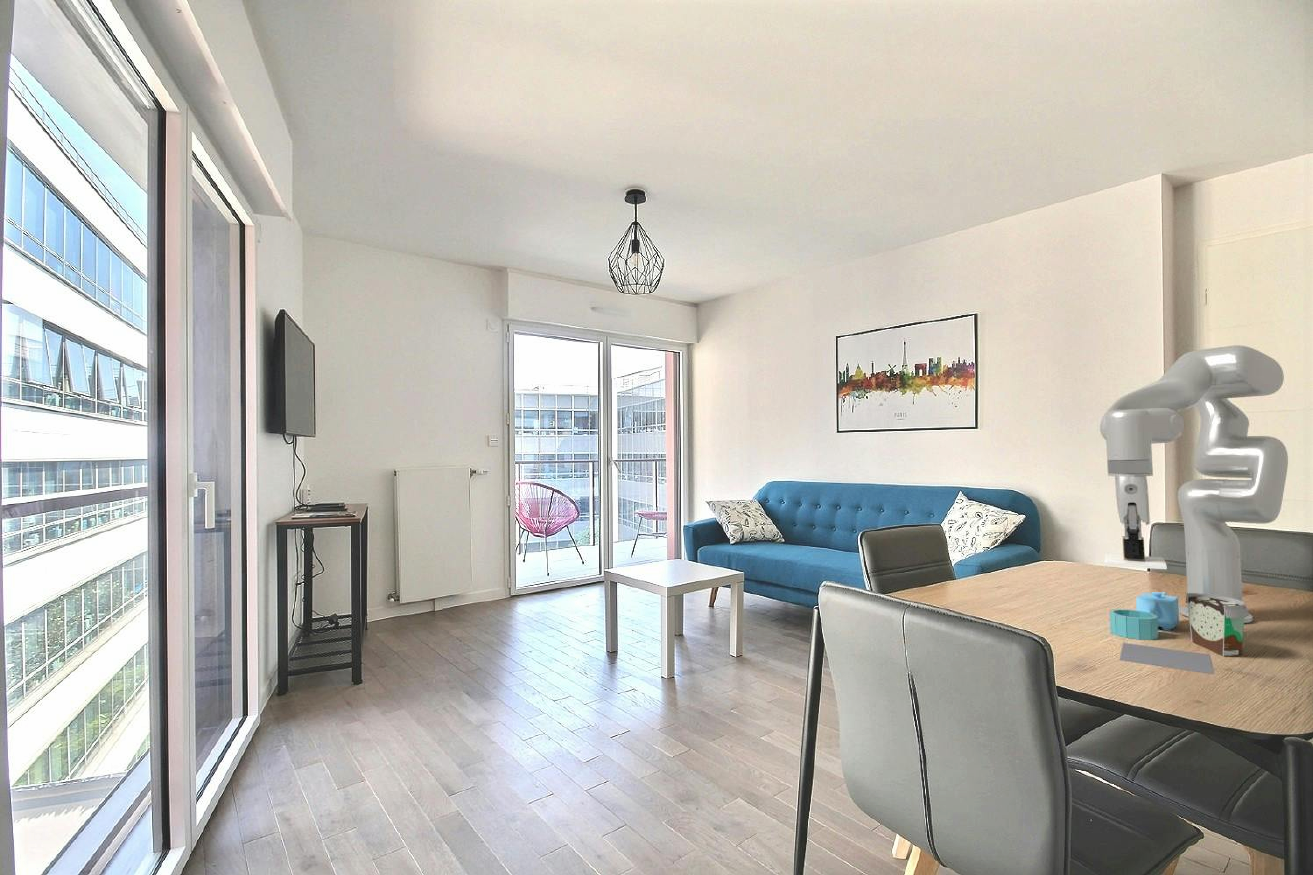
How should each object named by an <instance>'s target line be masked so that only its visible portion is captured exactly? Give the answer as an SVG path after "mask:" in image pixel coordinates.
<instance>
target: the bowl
mask: <svg viewBox="0 0 1313 875" xmlns="http://www.w3.org/2000/svg"><path fill="white" fill-rule="evenodd" d="M1109 626H1110V629H1109V630H1110V633H1111V634H1113V635H1115V636H1118V637H1122V638H1127V639H1132V640H1133V639H1134V640H1140V641H1141V640H1144V641H1145V640H1147V641H1151V640H1156V639H1157V640H1158V639H1159V626H1158V616H1157V615H1155V614H1153V613H1149V612H1144V611H1138V610H1137V609H1129V608H1126V609H1125V608H1123V609H1122V608H1116V609H1110V611H1109Z"/></svg>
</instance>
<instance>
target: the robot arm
mask: <svg viewBox="0 0 1313 875" xmlns="http://www.w3.org/2000/svg"><path fill="white" fill-rule="evenodd" d="M1284 375H1285V374H1284V370H1283V368H1282V366H1281V365H1280V363H1279V362H1278V361H1277V360H1275V359H1274V358H1272V357H1271V356H1269V355H1267V354H1265V353H1263V352H1261V351H1260V350H1258V349H1255V348H1252V347H1250V346H1245V345H1240V344H1239V345H1237V344H1236V345H1226V346H1221V347H1212V348H1210V347H1209V348H1203V349H1197V350H1191V351H1189V352H1186V353H1184V354H1182V355H1181V356H1180V357H1179V358H1178V359H1177V360H1176V361H1175V362H1174V363H1173V364H1172V365H1171V366H1170V368H1168V370H1166V372H1165V373H1164V374H1163V375H1162V376H1161V377H1160V378H1159V380H1157V381H1154V382H1151V383H1149V384H1146V385H1145V386H1143V387H1141V388H1138V389H1136V390H1134V391H1131V392H1129V393H1128V394H1125V395H1123V396H1121V397H1120V398H1118V399H1117V400H1116V401H1115V402H1113V404H1111V406H1110V407H1109V408H1108V409H1107V410H1106V412H1105V413H1104V414H1103V416H1102V418H1101V420H1100V425H1099V431H1100V434H1101V437H1102V438H1103V439H1104V440H1105V442H1106V444H1105V445H1106V459H1107V476H1108V477H1114V479H1115V480H1114V482H1115V484H1114V485H1115V498H1116V506H1117V513H1118V518H1119V522H1120V523H1121V524H1123V525H1124V536H1125V539H1124V555H1125V558H1126V559H1141V560H1143V559H1144V552H1145V544H1144V545H1143V540H1142V537H1143V536H1142V523H1145V525H1146V526H1148V525H1150V524H1151V521H1150V520H1151V519H1150V518H1151V517H1150V499H1149V498H1150V497H1149V486H1148V478H1147V477H1153V476H1154V473H1153V451H1152V450H1153V449H1152V447H1153V446H1152V444H1167V443H1168V444H1169V443H1171V442H1173V441H1176V440H1178V438H1179V437H1180V436H1181V435H1182V434H1183V431H1184V428H1185V425H1184V423H1185V422H1184V419H1183V417H1182V416H1181V415H1180V414H1179V412H1183V411H1186V410H1188V409H1190V408H1192V407H1194V406H1195V407H1196V408H1197V411H1198V413H1199V416H1200V421H1201V422H1200V428H1199V434H1198V438H1197V442H1196V449H1195V454H1194V467H1195V470H1196V471H1197V472H1198V473H1199V474H1201V475H1203V476H1206V477H1211V478H1201V479H1200V478H1199V479H1193V480H1189V481H1187V482H1185V483H1183V484H1182V485H1181V486H1180V487H1179V489H1178V491H1177V492H1178V493H1177V501H1178V506H1179V510H1180V513H1181V517H1182V522H1183V528H1184V544H1185V546H1184V547H1185V548H1184V549H1185V566H1186V567H1185V569H1186V571H1185V572H1186V590H1187V591H1186V594H1187V593H1198V594H1209V595H1217V596H1223V597H1228V598H1233V599H1237V600H1240V601H1242V602H1243V587H1242V586H1243V585H1242V563H1241V561H1242V560H1241V543H1240V540H1239V538H1238V535H1237V534H1236V533H1235V531H1233V529H1232V528H1231V527H1230V526H1229V525H1228V524H1227V523H1243V524H1260V525H1261V524H1262V525H1265V524H1270V523H1272V522H1275V521H1276V520H1277V519H1278V518H1279V515H1280V512H1281V509H1282V503H1283V498H1284V492H1285V487H1286V479H1287V475H1288V474H1287V473H1288V468H1289V456H1288V451H1287V447H1286V446H1285V444H1284V442H1282V441H1281V440H1280V439H1279V438H1276V437H1274V436H1269V435H1248V433H1249V427H1250V426H1249V425H1250V419H1249V418H1248V416H1247V415H1246V414H1245V413H1244V411H1242V410H1241V409H1240V408H1239V407H1238V406H1236V405H1235V404H1234V403H1232V402H1231V401H1230V400H1229V399H1233V398H1235V399H1237V398H1247V397H1248V398H1252V397H1265V396H1270V395H1273V394H1275V393H1277V392H1278V391H1279V390H1280V389H1281V387H1282V386H1283V384H1284V381H1285V376H1284ZM1212 477H1213V478H1212ZM1215 478H1216V479H1215ZM1220 478H1221V479H1220ZM1222 478H1223V479H1222ZM1224 478H1225V479H1224ZM1226 478H1228V479H1226ZM1229 478H1231V479H1229ZM1232 478H1233V479H1232ZM1234 478H1236V479H1234ZM1241 478H1242V479H1241ZM1138 538H1139V539H1138ZM1179 614H1181V615H1183V616H1186V617H1188V618H1189V613H1188V605H1183V606H1182V605H1181V606H1180V607H1179ZM1252 622H1253V615H1252V614H1251V613H1249V616H1247V617H1244V624H1248V623H1252Z"/></svg>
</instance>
